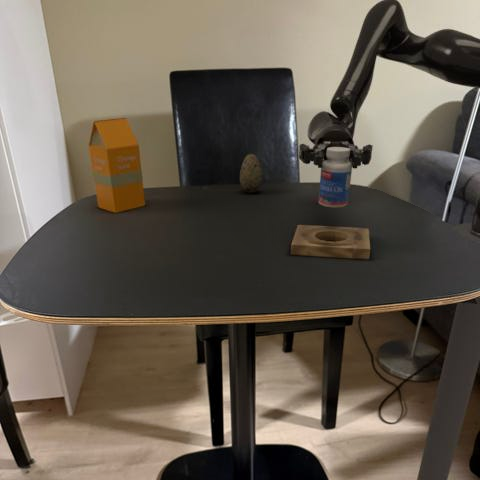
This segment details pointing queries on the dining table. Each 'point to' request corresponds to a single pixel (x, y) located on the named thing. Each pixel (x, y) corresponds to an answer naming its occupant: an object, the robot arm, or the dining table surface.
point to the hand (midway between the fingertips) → (337, 162)
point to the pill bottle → (335, 178)
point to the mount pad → (316, 244)
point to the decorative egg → (250, 174)
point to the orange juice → (116, 165)
